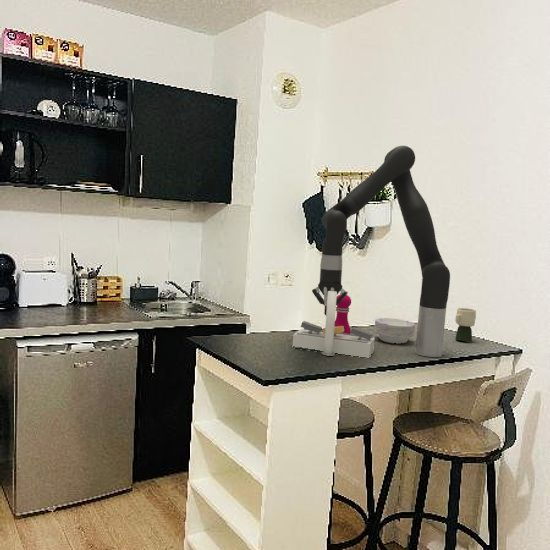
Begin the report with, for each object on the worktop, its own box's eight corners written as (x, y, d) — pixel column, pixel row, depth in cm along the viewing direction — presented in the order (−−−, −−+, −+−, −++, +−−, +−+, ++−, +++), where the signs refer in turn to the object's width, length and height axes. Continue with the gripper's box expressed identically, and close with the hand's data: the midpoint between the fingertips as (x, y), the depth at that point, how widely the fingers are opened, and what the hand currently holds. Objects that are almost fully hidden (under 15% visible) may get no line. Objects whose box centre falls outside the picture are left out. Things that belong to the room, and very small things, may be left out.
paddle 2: (370, 338, 195) (372, 333, 195) (369, 340, 192) (371, 335, 192) (351, 331, 197) (353, 326, 196) (350, 333, 194) (351, 328, 194)
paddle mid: (344, 330, 198) (343, 325, 198) (342, 332, 195) (341, 327, 195) (325, 332, 200) (324, 327, 200) (323, 334, 197) (322, 329, 197)
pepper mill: (343, 346, 204) (347, 292, 202) (326, 342, 208) (330, 289, 206) (353, 343, 210) (357, 290, 207) (336, 339, 214) (340, 288, 212)
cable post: (335, 354, 192) (340, 291, 189) (332, 357, 187) (337, 293, 185) (323, 353, 193) (327, 290, 190) (320, 355, 189) (324, 291, 186)
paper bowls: (421, 345, 213) (423, 324, 213) (387, 346, 208) (389, 325, 207) (398, 335, 227) (400, 316, 227) (366, 337, 222) (367, 317, 221)
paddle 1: (320, 332, 200) (322, 327, 200) (318, 333, 198) (320, 328, 197) (302, 325, 202) (304, 320, 202) (300, 326, 200) (302, 322, 199)
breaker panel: (373, 351, 199) (374, 336, 198) (368, 358, 189) (370, 342, 188) (301, 341, 208) (302, 326, 207) (292, 348, 197) (293, 332, 196)
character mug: (465, 338, 230) (469, 307, 229) (479, 342, 224) (483, 310, 223) (447, 340, 225) (450, 308, 224) (460, 344, 219) (463, 311, 217)
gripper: (351, 268, 197) (348, 316, 199) (315, 265, 201) (312, 312, 203) (347, 270, 190) (344, 320, 192) (310, 267, 194) (307, 316, 196)
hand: (328, 316), depth 197 cm, fingers closed
